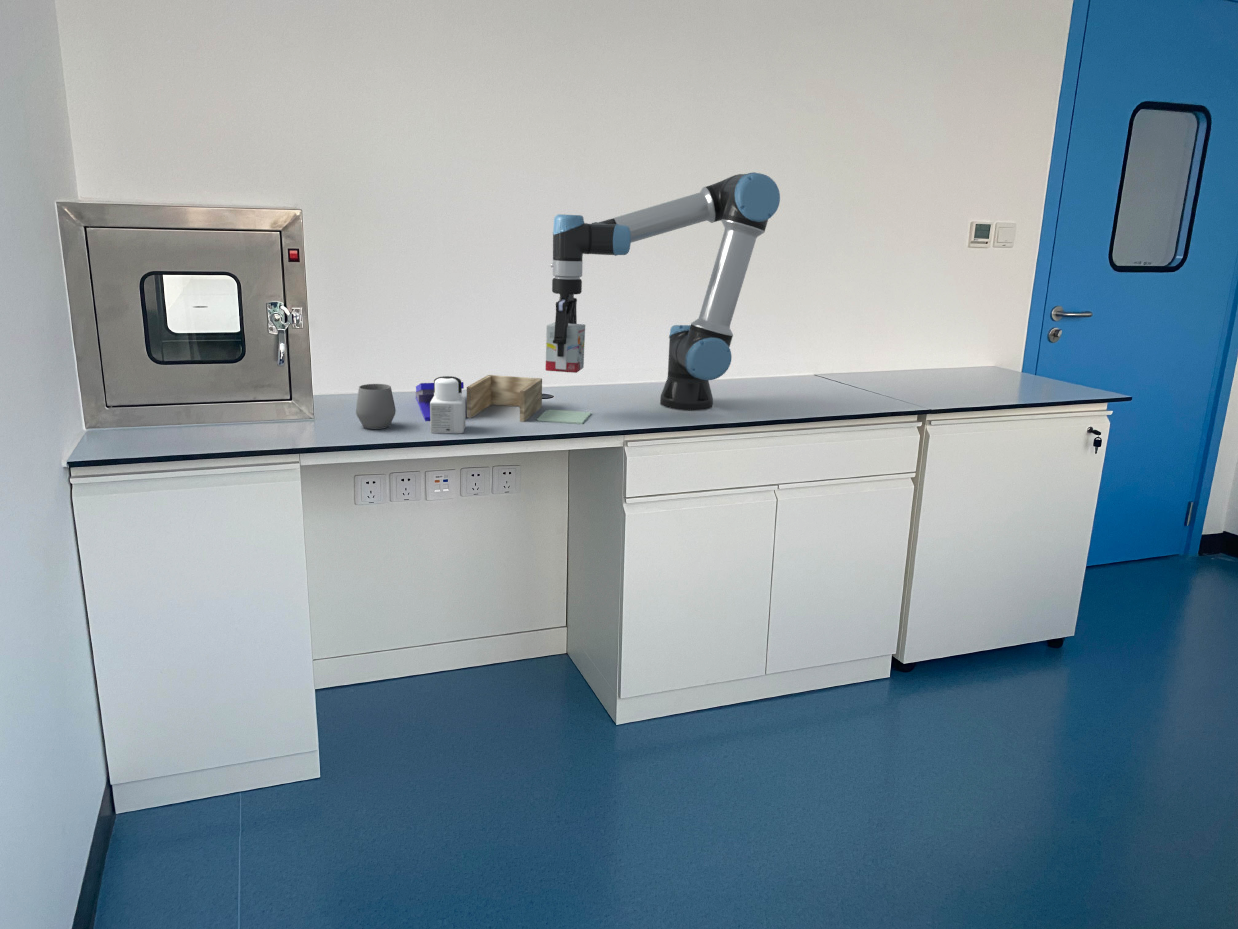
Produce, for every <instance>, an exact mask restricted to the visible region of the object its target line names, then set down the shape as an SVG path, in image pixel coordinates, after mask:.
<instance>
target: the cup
mask: <svg viewBox="0 0 1238 929" xmlns="http://www.w3.org/2000/svg"><path fill="white" fill-rule="evenodd" d="M392 390H393V389H392V386H391V385H389V384H385V383H367V384H362V385H359V386H358V391H357V398H356V408H355V413H356V417H357V418H358V420H359V421H360V424H361V426H363V427H364V428H366V429H369V430H380V429H381V430H382V429H385V428H388V427H390V426H391V424H392V422H393V420H394V418H395V415H396V411H397V410H396V404H395V400H394V396H393V391H392Z"/></svg>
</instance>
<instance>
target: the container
mask: <svg viewBox="0 0 1238 929" xmlns="http://www.w3.org/2000/svg"><path fill="white" fill-rule="evenodd" d="M461 382H462V379H460V378H458V377H456V376H449V375H447V376H446V375H443V376H438V377H436V378H435V379H434V380H433V383H434V397H433V399H432V400H431V402H430V421H429V422H430V433H431V434H463V433H464V430H465V428H466V425H467V424H466V396H465V395H462V393H461Z"/></svg>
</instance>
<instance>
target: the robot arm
mask: <svg viewBox="0 0 1238 929" xmlns="http://www.w3.org/2000/svg"><path fill="white" fill-rule="evenodd" d="M780 202H781V194H780V189H779V186H778V185H777V183H776V181H774V179H773V178H772V177H770V176H768V175H766V174H764V173H760V172H748V173H739V174H734V175H731V176H729V177H727V178H725V179H723V180H720V181H717V182H715V183H712V184H710V185H707V186H703V187H702V188H701V190H700V191H699V192H697V193H694V194H690V195H687V196H683V197H680V198H677V199H674V200H673V199H672V200H670V201H667V202H663V203H660V204H656V205H653V206H650V207H646V208H642V209H639V210H637V211H633V212H629V213H626V214H623V215H619V216H615V217H612V218H609V219H606V220H605V219H604V220H602V221H599V222H596V221H595V222H590V223H587V222H585V220H584V219H585V218H584V216H583V215H581V214H580V215H579V214H556V215H555V216H554V218H553V230H552V263H550V267H551V268H552V276H553V278H552V279H551V283H552V284H551V286H552V288H551V291H552V293H553V294H558V295H559V299H558V301H556V303H555V319H554V321H555V322H554V323H555V333H554V340H553V343H555V344H556V369H564V370H566V368H567V344H566V338H567V327H568V323H570V324H578V323H577V318H578V317H577V316H578V315H577V302H578V300H577V299H578V298H577V297H575V295H580V294H582V292H583V291H582V289H583V288H582V287H583V286H582V285H583V280H582V279H581V277H583V264H584V262H583V255H605V256H615V257H616V256H626V255H627V254H629V252H630V249H631V244H632V243H634V242H638V241H641V240H645V239H648V238H653V237H655V236H659V235H663V234H666V233H669V232H672V231H675V230H679V229H682V228H686V227H689V226H693V225H696V224H700V223H702V222H709V223H711V224H714V223H717V222H719V221H720V222H721V223H722V225H723V227H724V230H723V231H724V232H723V234H722V236H721V237H722V238H721V240H720V243H719V248H718V252H717V254H716V258H715V261H714V264H713V268H712V271H711V274H710V279H709V282H708V285H707V289H706V292H705V295H704V299H703V302H702V305H701V308H700V311H699V315H698V318H697V319H695V320H694V321H691V323H690V324H689V325H688V324H685V325H684V324H675V325H672V326H671V328H670V331H669V336H668V339H669V342H668V365H667V367H668V368H667V377H666V381H665V383H664V386H663V389H662V391H661V394H660V403H659V404H660V406H663V407H665V408H668V409H673V410H678V411H679V410H681V411H703V410H704V411H705V410H709V409H711V408H712V407H713V406H714V404H713V403H714V398H713V393H712V389H711V385H710V381H715V380H716V379H719V378H720V377H722V376H723V375H725V374H726V372H727V371H728V370H729V368H730V366H731V364H732V363H731V362H732V358H733V357H732V351H731V348H730V347H731V344H732V340H733V337H734V333H733V331H732V330H731V323H732V320H733V317H734V314H735V311H736V308H737V304H738V300H739V296H740V294H741V290H742V287H743V284H744V280H745V276H746V274H747V271H748V268H749V265H750V261H751V258H752V254H753V250H754V248H755V244H756V241H757V238H758V237H759V236H761V235H763V234H764V233H765V231H766V228H767V225H768V222H769V219H771V218H772V217H773V216H774V215H775V214H776V212H777V211H778V209H779V207H780ZM560 337H562V338H560Z"/></svg>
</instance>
